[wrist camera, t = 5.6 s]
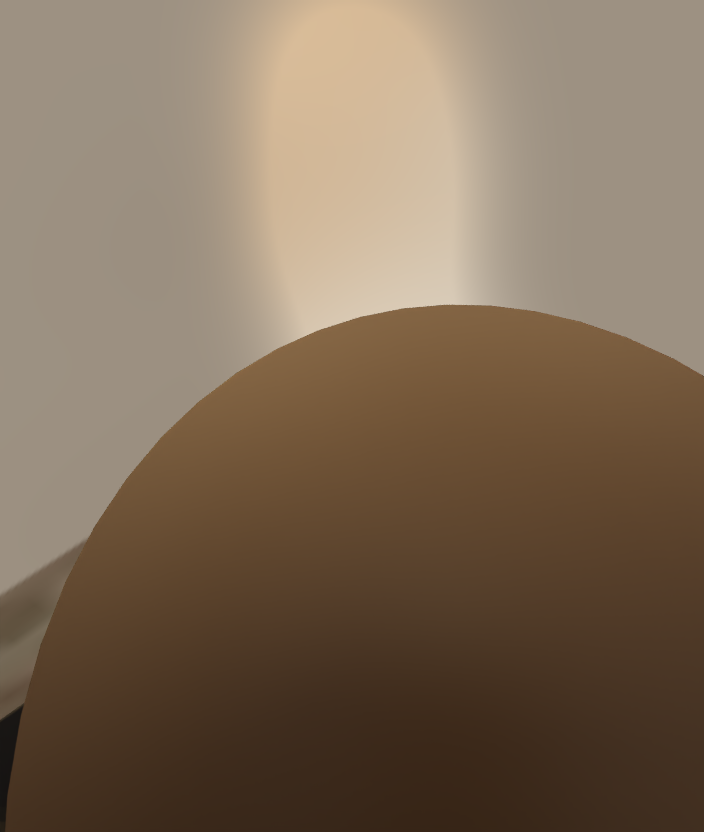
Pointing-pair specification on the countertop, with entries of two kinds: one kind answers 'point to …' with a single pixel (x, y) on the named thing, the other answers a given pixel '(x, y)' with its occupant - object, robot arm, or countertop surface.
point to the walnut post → (392, 597)
